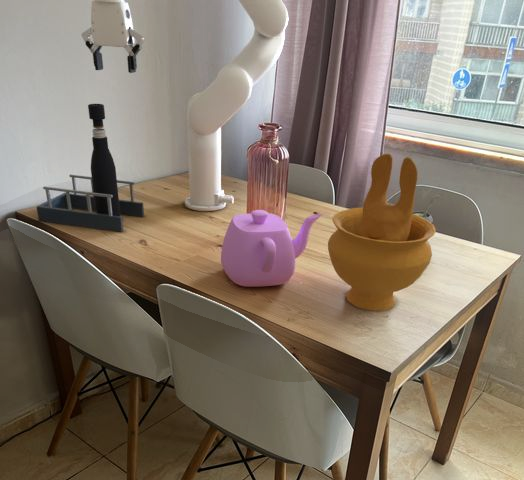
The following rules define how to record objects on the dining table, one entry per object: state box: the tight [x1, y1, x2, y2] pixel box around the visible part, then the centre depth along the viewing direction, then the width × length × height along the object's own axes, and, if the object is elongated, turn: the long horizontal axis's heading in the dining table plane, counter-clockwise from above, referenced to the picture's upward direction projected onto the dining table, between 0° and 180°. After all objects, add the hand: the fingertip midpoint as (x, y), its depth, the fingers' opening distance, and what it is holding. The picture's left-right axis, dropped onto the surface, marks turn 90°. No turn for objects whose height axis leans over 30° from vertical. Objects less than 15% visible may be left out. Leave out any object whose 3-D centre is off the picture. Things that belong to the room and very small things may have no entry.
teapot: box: [220, 209, 323, 288], centre depth 121 cm, size 23×21×15 cm
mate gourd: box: [412, 193, 444, 242], centre depth 144 cm, size 8×8×15 cm
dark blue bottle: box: [87, 103, 121, 216], centre depth 145 cm, size 6×6×30 cm
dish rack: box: [36, 174, 145, 233], centre depth 152 cm, size 25×14×10 cm, turn 76°
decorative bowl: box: [327, 153, 437, 312], centre depth 111 cm, size 21×21×30 cm
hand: (115, 71), depth 147 cm, fingers open, 9 cm apart
